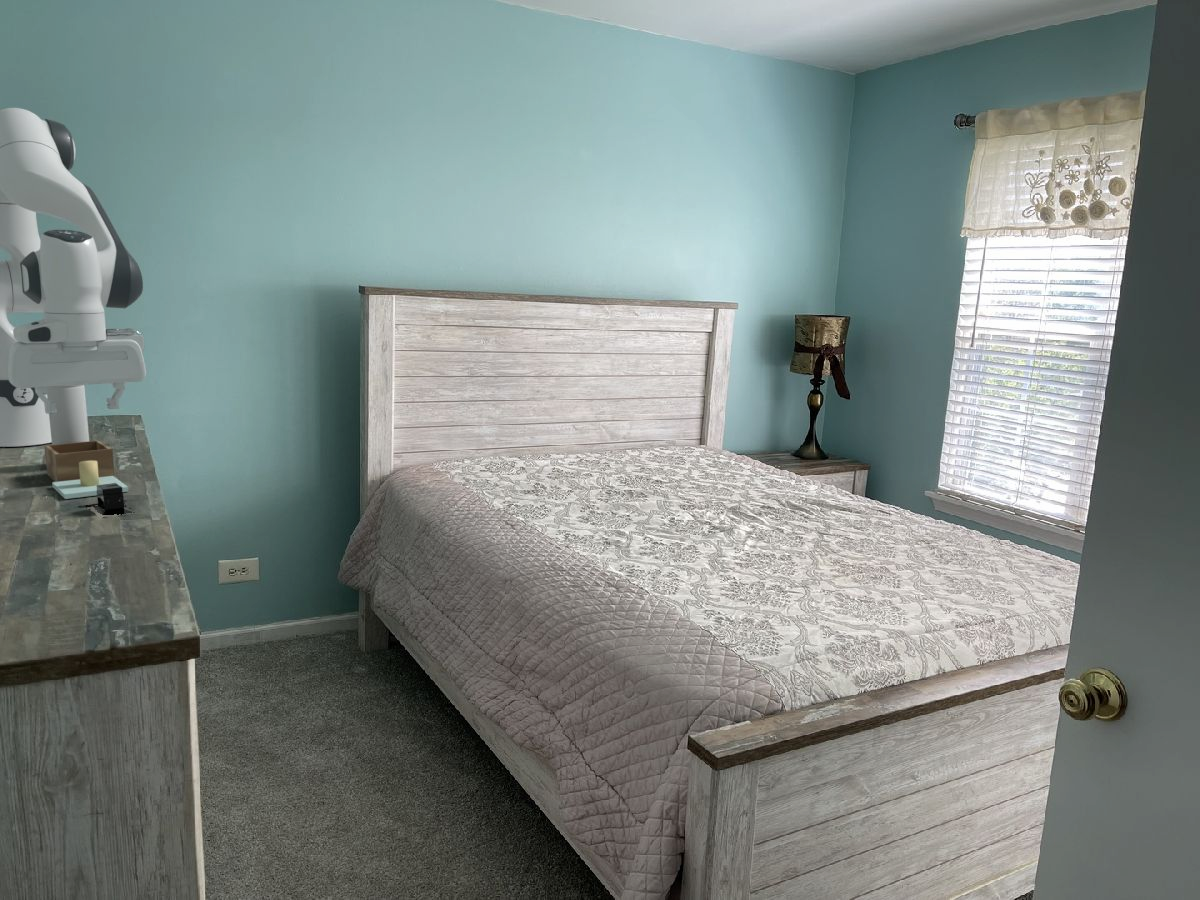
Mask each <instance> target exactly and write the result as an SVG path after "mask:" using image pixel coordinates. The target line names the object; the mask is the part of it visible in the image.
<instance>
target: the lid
mask: <svg viewBox="0 0 1200 900" xmlns="http://www.w3.org/2000/svg"><path fill="white" fill-rule="evenodd" d="M79 471H80V479H79V480H70V481H60V482H55V481H52V483H51V484H52V488H53V489H54V490H55V491H56V492H57V493H58V494H59V495H60V496H62V498H63V499H65V500H69V499H76V498H84V497H85V498H86V497H95V496H97V485H103V484H111V483H117V484H118V485H120V486H121V487H122V493H127V492H129V486H127V485H126V484H125V483H123V482H122V481H121V480H119V479H118V478H117V477H116V476H115V477H114V476H106V477H99V476H98V463H97V461H81V462H79Z"/></svg>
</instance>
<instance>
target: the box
mask: <svg viewBox="0 0 1200 900" xmlns="http://www.w3.org/2000/svg"><path fill="white" fill-rule="evenodd" d="M43 445H44V455H45V466H46V474H47V476H48V477H49V478H50V479H51V480H53V482H60V481H70V480H79V479H80V471H79V462H81V461H97V463H98V476H99V477H106V476H114V477H115V478H116V476H115V475H116V474H115V464H114V453H113V452H114V451H113V450H114V449H113V448H111V447H110V446H108V445H107V444H105V443H104V442H102V441H100V440H89V441H88V442H77V443H66V444H55V445H52V444H47V445H45V444H43Z"/></svg>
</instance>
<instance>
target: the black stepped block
mask: <svg viewBox="0 0 1200 900" xmlns="http://www.w3.org/2000/svg"><path fill="white" fill-rule="evenodd" d="M124 499H125V498H124V492H122V487H121V486H120V485H118V484H117V483H111V484H103V485H97V495H96V500H97V505H98V506H93V505H92V506H93V507H94V508H95V510H97V512H98V513H100V514H102V515H114V514H117V515H119V514H121V515H122V514H126V513H132V512H133V510H134V509H133V510H130V509H129V508H127V507H126V506H124V504H125V500H124ZM135 512H136V511H135ZM135 512H133V513H135Z"/></svg>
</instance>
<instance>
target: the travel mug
mask: <svg viewBox="0 0 1200 900" xmlns="http://www.w3.org/2000/svg"><path fill="white" fill-rule="evenodd" d="M47 399H48V400H49V402H55V403H56V406H57V407H56V409H57V413H51V414H49V419H50V429H51V440H52V442H51V445H55V444H66V443H77V442H88V441H90V435H89V423H88V412H87V403H86V401H87V398H86V390H85V385H71V386H53V387H47Z"/></svg>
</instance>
